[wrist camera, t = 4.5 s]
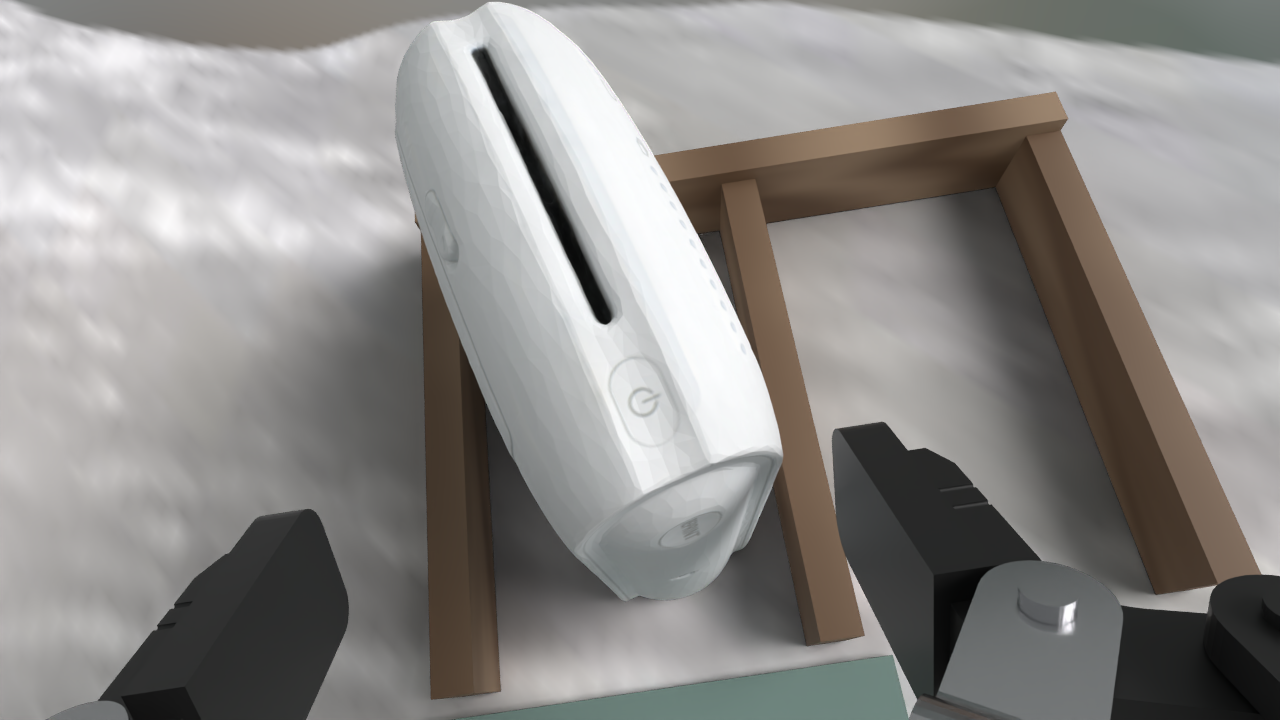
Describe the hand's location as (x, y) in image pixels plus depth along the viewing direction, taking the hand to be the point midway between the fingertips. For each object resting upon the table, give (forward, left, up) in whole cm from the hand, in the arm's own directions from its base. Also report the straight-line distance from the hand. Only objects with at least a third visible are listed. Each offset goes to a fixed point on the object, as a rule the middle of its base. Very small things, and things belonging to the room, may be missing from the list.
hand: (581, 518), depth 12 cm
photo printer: (0, -4, -10) cm, 11 cm away
